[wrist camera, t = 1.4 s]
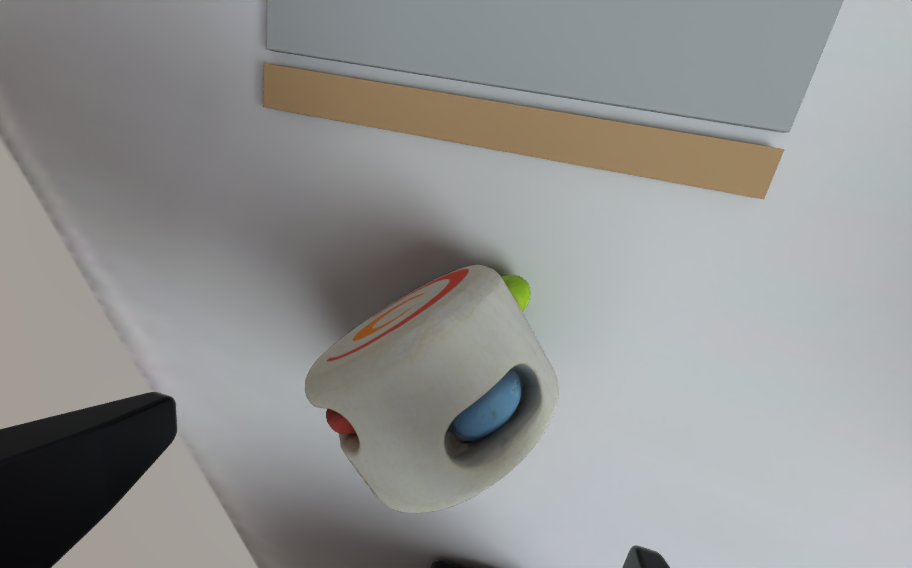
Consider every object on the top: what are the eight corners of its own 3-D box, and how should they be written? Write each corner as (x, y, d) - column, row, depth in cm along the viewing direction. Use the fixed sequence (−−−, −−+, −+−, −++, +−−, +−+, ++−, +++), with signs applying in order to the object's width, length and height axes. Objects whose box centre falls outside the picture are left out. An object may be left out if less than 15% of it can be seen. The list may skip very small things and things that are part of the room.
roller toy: (578, 357, 13) (593, 499, 8) (416, 423, 15) (341, 569, 10) (509, 235, 13) (475, 298, 7) (351, 321, 15) (232, 419, 9)
